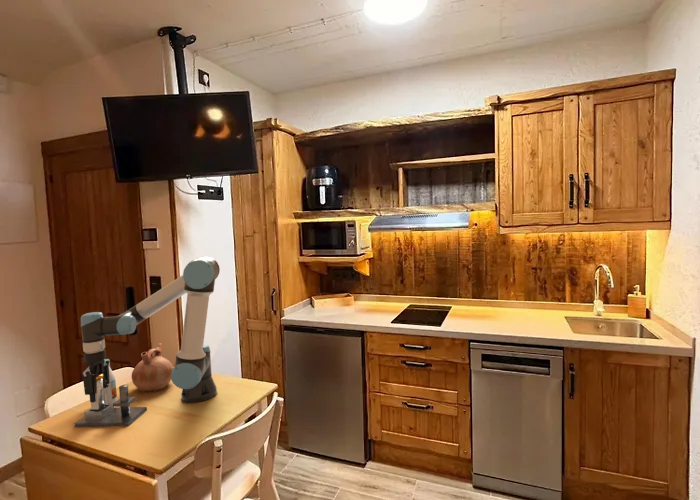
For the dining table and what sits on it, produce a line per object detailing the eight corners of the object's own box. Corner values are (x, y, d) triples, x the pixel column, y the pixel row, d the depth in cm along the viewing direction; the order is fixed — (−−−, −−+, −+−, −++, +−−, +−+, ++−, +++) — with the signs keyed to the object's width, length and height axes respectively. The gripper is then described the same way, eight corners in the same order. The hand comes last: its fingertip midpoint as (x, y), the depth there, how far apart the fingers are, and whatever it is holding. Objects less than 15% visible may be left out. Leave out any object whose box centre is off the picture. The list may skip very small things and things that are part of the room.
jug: (149, 379, 200) (146, 341, 199) (182, 380, 197) (179, 341, 196) (124, 395, 182) (120, 353, 180) (159, 396, 179) (156, 354, 178)
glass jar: (109, 408, 162) (105, 372, 161) (101, 413, 157) (98, 377, 156) (97, 408, 162) (94, 373, 161) (89, 414, 158) (86, 377, 156)
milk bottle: (107, 408, 169) (103, 363, 167) (92, 407, 170) (88, 363, 169) (121, 400, 176) (117, 357, 175) (106, 399, 178) (103, 357, 176)
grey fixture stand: (146, 410, 166) (144, 379, 165) (128, 426, 153) (125, 392, 152) (97, 411, 167) (94, 380, 166) (74, 427, 154) (71, 393, 153)
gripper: (99, 344, 167) (104, 397, 168) (69, 358, 150) (74, 416, 151) (116, 343, 166) (121, 396, 168) (88, 357, 149) (93, 416, 151)
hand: (99, 406), depth 160 cm, fingers closed on glass jar, 4 cm apart
